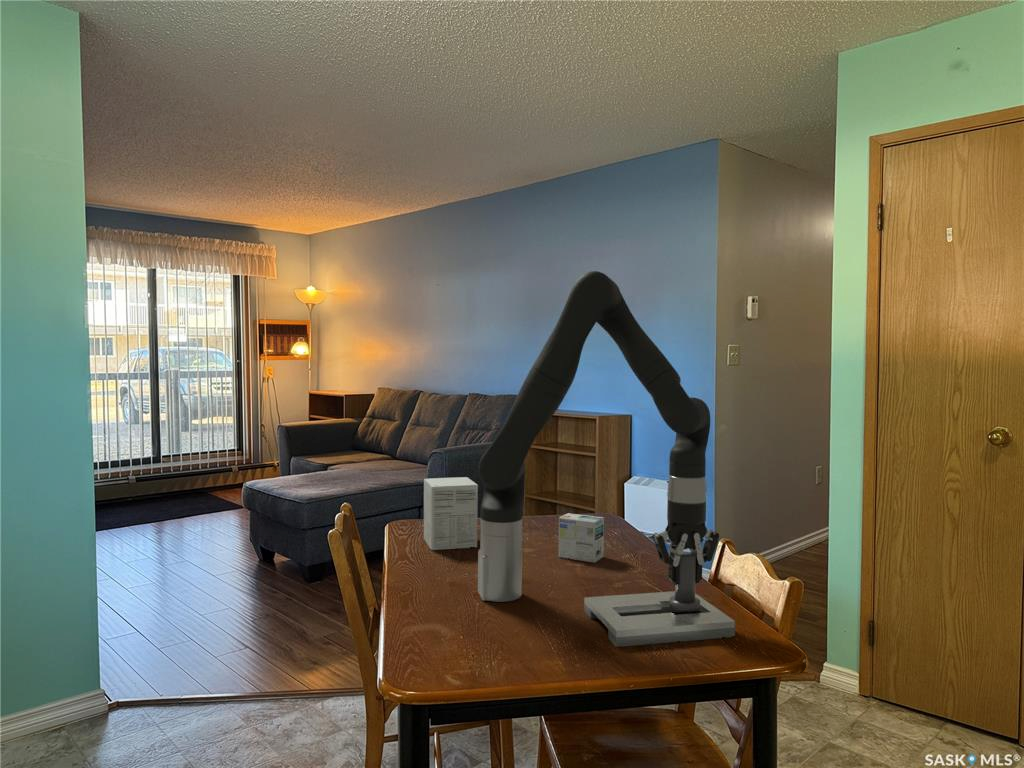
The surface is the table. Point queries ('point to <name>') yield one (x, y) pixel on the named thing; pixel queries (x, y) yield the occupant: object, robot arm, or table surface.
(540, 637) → the table surface
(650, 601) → the keyhole plate
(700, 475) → the robot arm
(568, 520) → the light bulb box
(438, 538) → the supplement box
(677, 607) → the headed peg
